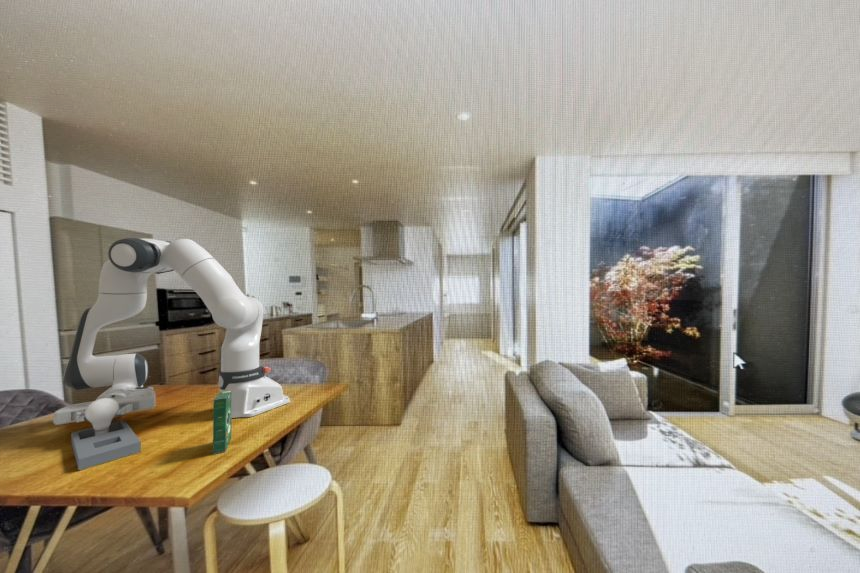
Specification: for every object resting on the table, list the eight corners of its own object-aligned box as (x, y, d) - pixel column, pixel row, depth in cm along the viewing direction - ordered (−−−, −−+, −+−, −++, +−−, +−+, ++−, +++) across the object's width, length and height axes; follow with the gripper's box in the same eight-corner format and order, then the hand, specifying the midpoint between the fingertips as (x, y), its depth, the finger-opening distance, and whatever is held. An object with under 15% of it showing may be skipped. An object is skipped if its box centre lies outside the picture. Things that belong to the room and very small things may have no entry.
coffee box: (219, 440, 79) (219, 390, 79) (232, 438, 80) (232, 389, 80) (211, 455, 71) (212, 399, 72) (225, 452, 72) (226, 397, 73)
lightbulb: (117, 431, 86) (118, 393, 86) (119, 438, 81) (120, 397, 82) (83, 440, 81) (84, 399, 81) (84, 447, 77) (85, 404, 77)
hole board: (124, 428, 88) (124, 419, 88) (140, 451, 74) (141, 441, 74) (71, 441, 80) (71, 432, 80) (78, 471, 66) (78, 459, 66)
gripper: (65, 398, 86) (41, 413, 75) (159, 385, 98) (151, 396, 86) (64, 420, 86) (40, 438, 74) (159, 405, 98) (150, 418, 86)
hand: (100, 415), depth 81 cm, fingers closed on lightbulb, 6 cm apart
